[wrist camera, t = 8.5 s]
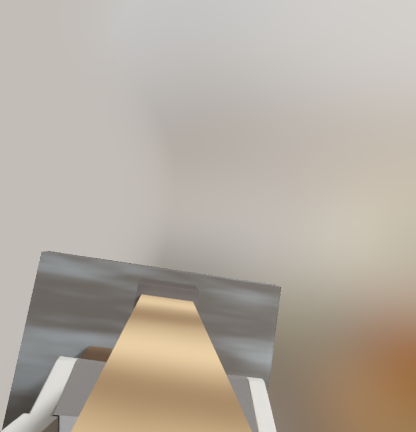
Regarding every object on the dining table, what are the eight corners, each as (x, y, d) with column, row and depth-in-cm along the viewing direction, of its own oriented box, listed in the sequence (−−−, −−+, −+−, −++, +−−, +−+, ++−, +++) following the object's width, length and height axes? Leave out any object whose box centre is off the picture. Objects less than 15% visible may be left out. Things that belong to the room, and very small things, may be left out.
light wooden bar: (256, 683, 4) (287, 419, 5) (-8, 688, 4) (51, 397, 4) (186, 338, 20) (194, 285, 20) (132, 332, 20) (142, 277, 20)
